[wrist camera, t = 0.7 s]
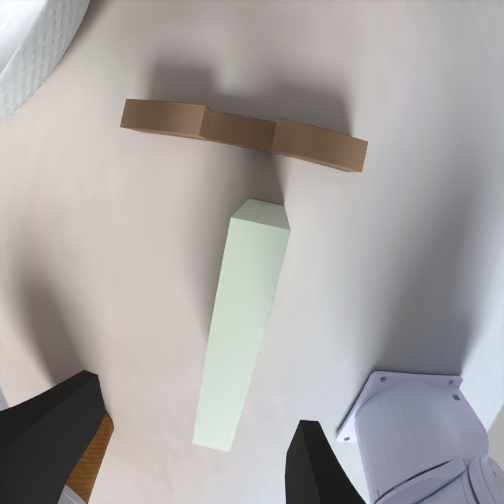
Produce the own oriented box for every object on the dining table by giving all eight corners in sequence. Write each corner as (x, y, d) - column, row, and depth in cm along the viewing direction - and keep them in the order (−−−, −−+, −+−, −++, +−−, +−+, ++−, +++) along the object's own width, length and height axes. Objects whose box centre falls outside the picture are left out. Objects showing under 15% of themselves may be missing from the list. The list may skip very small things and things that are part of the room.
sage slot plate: (249, 198, 16) (230, 217, 10) (284, 205, 16) (290, 230, 10) (214, 369, 20) (192, 443, 13) (242, 375, 20) (229, 451, 13)
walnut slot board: (352, 146, 15) (368, 141, 12) (346, 171, 16) (361, 172, 13) (149, 108, 15) (126, 99, 13) (144, 132, 16) (120, 126, 13)
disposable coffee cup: (71, 364, 21) (-5, 450, 10) (146, 433, 23) (101, 531, 11) (41, 393, 24) (-16, 459, 12) (102, 450, 25) (62, 523, 13)
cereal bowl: (94, -60, 11) (58, -93, 4) (156, 29, 14) (104, -23, 7) (-24, 58, 14) (-69, 51, 7) (3, 176, 17) (-60, 187, 10)
